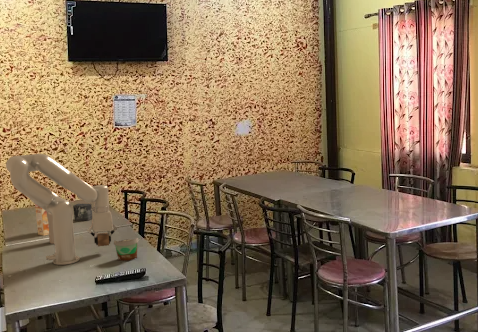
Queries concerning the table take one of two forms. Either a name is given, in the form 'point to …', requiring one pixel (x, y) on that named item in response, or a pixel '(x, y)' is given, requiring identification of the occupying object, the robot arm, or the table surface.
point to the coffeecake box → (42, 221)
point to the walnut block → (103, 239)
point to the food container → (126, 249)
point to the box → (82, 212)
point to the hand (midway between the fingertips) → (102, 243)
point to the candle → (50, 227)
